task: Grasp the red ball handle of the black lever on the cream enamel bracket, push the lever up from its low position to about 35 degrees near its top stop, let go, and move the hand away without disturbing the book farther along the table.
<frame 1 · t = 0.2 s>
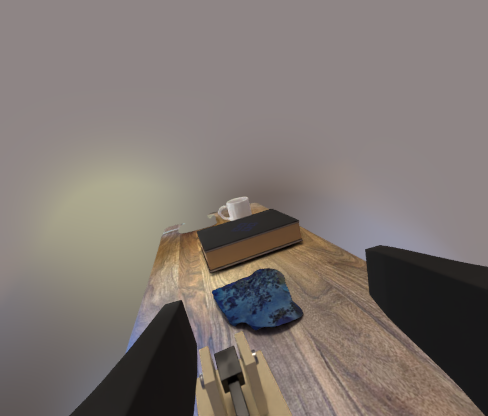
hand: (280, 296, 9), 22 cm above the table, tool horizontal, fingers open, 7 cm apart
bracket: (242, 412, 26), on the table
rock: (257, 302, 44), on the table
book: (249, 248, 68), on the table
mug: (238, 227, 89), on the table
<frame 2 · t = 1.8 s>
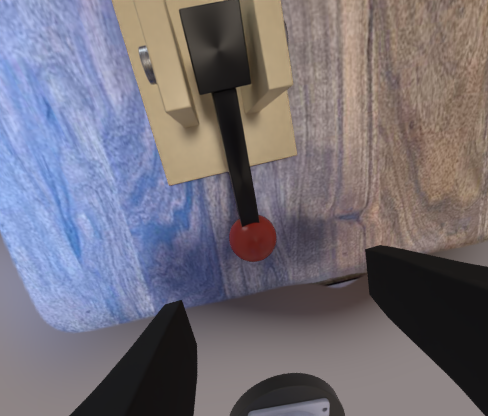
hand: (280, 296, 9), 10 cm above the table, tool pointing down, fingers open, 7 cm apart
bracket: (214, 87, 16), on the table
lever: (238, 164, 13), point 5 cm above the table, hinge at -15.0°
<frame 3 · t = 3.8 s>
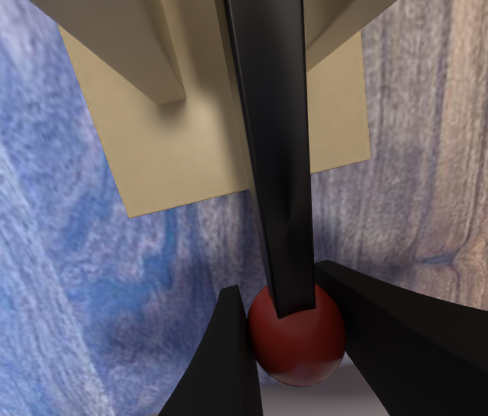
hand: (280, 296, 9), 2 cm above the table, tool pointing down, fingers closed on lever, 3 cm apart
bracket: (215, 29, 8), on the table
lever: (277, 185, 5), point 5 cm above the table, hinge at -15.0°, touching gripper
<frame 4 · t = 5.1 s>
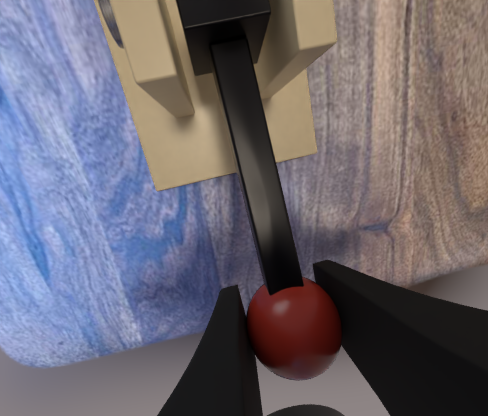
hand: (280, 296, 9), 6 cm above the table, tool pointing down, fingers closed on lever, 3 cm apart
bracket: (213, 67, 13), on the table
lever: (256, 172, 7), point 7 cm above the table, hinge at 10.4°, touching gripper
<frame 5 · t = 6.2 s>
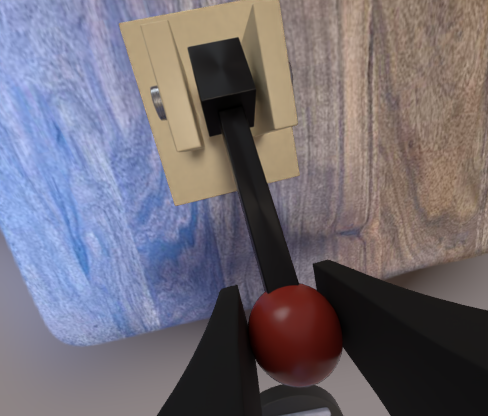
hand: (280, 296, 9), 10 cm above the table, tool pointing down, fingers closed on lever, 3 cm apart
bracket: (218, 110, 16), on the table
lever: (253, 193, 9), point 9 cm above the table, hinge at 31.5°, touching gripper
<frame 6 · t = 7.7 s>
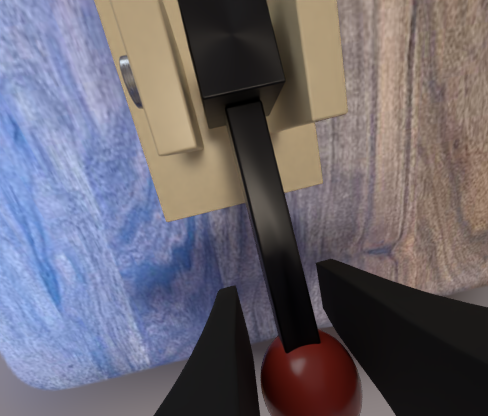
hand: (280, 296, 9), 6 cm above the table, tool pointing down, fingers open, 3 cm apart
bracket: (221, 101, 13), on the table
lever: (270, 226, 7), point 7 cm above the table, hinge at 13.5°
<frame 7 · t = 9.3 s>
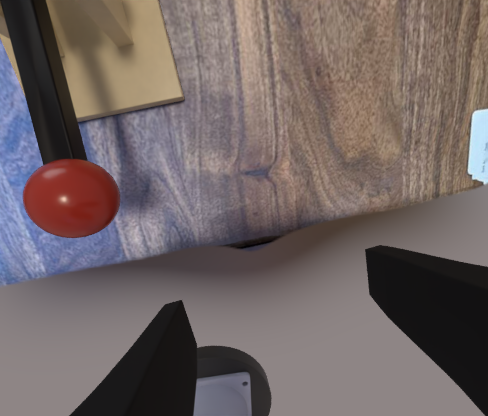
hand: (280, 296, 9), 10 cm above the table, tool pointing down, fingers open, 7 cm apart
bracket: (87, 20, 15), on the table
lever: (42, 70, 9), point 7 cm above the table, hinge at 13.5°
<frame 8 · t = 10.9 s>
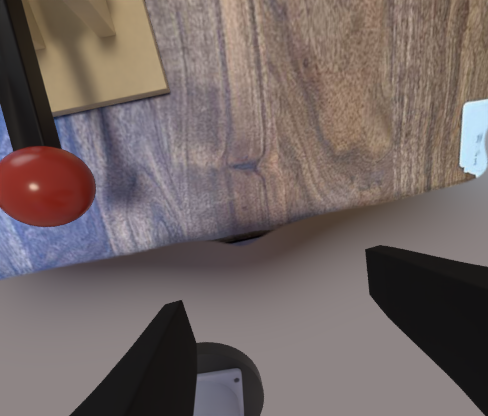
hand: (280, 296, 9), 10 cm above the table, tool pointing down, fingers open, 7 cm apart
bracket: (69, 11, 14), on the table
lever: (13, 56, 9), point 7 cm above the table, hinge at 13.5°
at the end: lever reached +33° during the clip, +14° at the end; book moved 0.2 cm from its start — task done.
